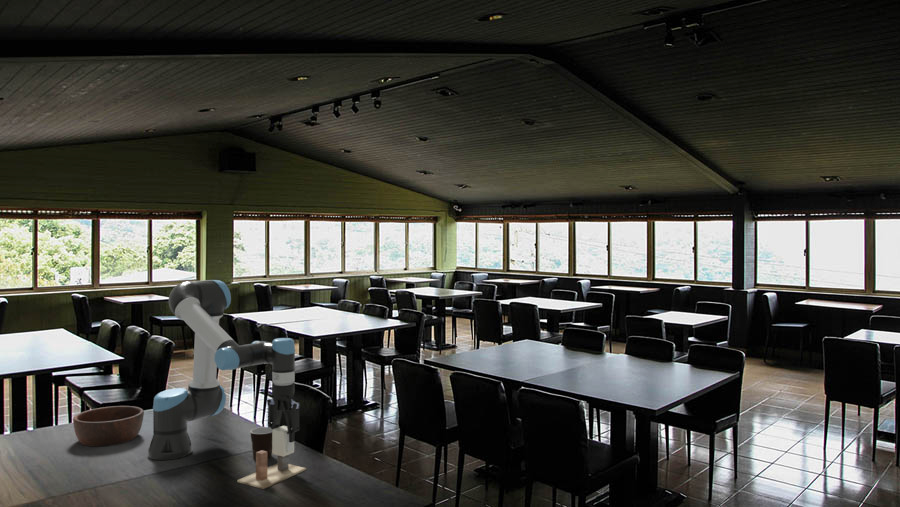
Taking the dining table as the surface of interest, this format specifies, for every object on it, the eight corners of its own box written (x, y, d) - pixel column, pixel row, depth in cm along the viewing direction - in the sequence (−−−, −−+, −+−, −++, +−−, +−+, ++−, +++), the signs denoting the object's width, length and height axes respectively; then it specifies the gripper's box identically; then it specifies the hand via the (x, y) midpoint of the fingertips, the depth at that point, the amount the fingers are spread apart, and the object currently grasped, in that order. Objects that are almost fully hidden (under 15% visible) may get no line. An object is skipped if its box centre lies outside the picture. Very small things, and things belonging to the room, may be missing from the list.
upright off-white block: (272, 454, 218) (272, 429, 218) (283, 449, 223) (283, 425, 222) (283, 456, 215) (283, 431, 215) (294, 452, 220) (294, 427, 220)
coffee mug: (267, 462, 228) (267, 434, 228) (245, 460, 230) (245, 433, 229) (282, 451, 239) (282, 425, 239) (261, 450, 241) (261, 424, 241)
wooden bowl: (156, 436, 256) (156, 411, 256) (94, 453, 235) (94, 426, 235) (122, 426, 270) (122, 402, 270) (60, 441, 249) (60, 415, 249)
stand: (237, 481, 209) (237, 453, 209) (280, 463, 227) (280, 437, 226) (263, 489, 203) (263, 459, 203) (305, 469, 221) (306, 442, 221)
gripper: (256, 382, 220) (256, 448, 220) (295, 388, 211) (295, 457, 211) (272, 378, 226) (272, 442, 227) (310, 384, 218) (310, 450, 218)
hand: (283, 449), depth 219 cm, fingers closed on upright off-white block, 5 cm apart
